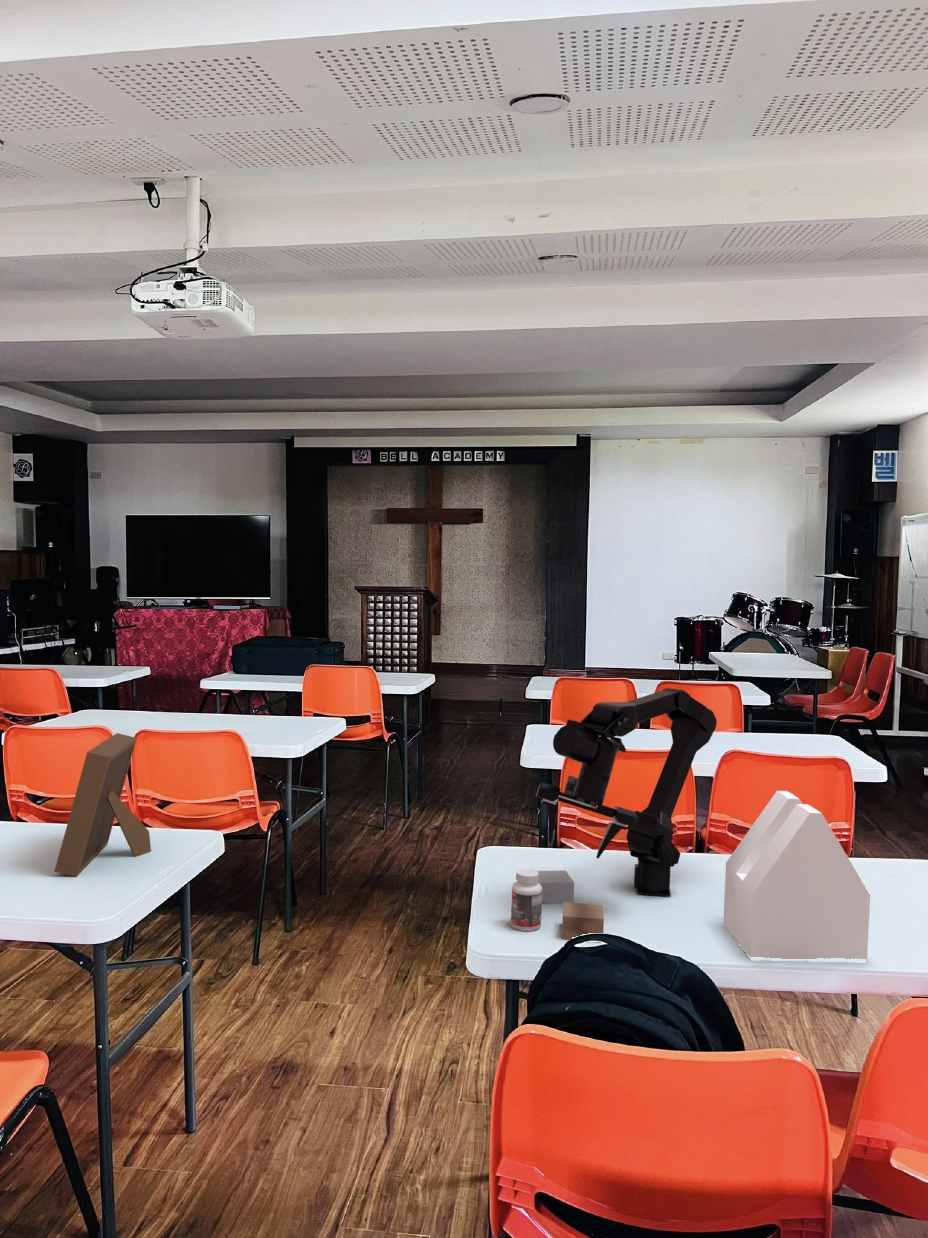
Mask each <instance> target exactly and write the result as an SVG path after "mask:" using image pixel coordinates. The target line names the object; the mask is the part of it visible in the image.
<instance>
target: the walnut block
mask: <svg viewBox="0 0 928 1238" xmlns="http://www.w3.org/2000/svg"><path fill="white" fill-rule="evenodd" d="M562 904H563V907H562V925H561V927H562V928H561V939H562V940H569V939H572V937H576V936H580V935H582V934H588V933H603V934H604V927H605V925H604V923H605V916H604V915H605V914H604V904H599V903H598V904H597V903H583V902H574V903H573V902H564V903H562Z"/></svg>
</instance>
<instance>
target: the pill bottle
mask: <svg viewBox="0 0 928 1238" xmlns="http://www.w3.org/2000/svg"><path fill="white" fill-rule="evenodd" d="M537 871H538V870H534V869H531V868H520V869H517V870H516V872H515V880H516V882H514V883H513V884H512V885H511V906H510V907H511V908H510V912H511V913H510V926H511V927H512V928H513V929H516V930H519V931H524V932H533V931H537V930H539V929H540V928H541V926H542V909H543V908H542V906H543V905H542V904H543V903H542V887H541V885H540V884H539V883H537V882H538V881H539V873H538V872H537Z"/></svg>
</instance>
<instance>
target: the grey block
mask: <svg viewBox="0 0 928 1238" xmlns="http://www.w3.org/2000/svg"><path fill="white" fill-rule="evenodd" d="M536 871H537V872H538V873H539V881H538V882H537V883H539V884H540V885H541V887H542V904H564V902H573V903H575V902H574V901H575V899H574V897H575V881H574V880H573V879H572V877H571V876H570V874H569V873H568V872H567V870H536Z"/></svg>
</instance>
